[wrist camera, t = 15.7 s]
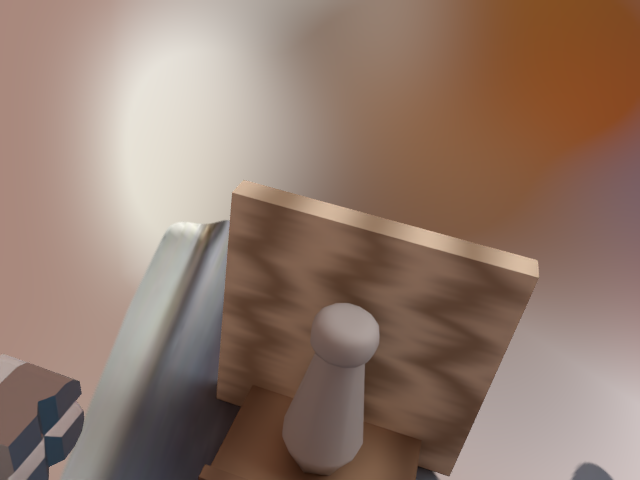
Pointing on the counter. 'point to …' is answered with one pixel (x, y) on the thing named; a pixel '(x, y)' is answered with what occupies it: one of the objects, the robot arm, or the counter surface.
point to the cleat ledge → (277, 463)
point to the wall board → (376, 298)
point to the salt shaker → (332, 390)
